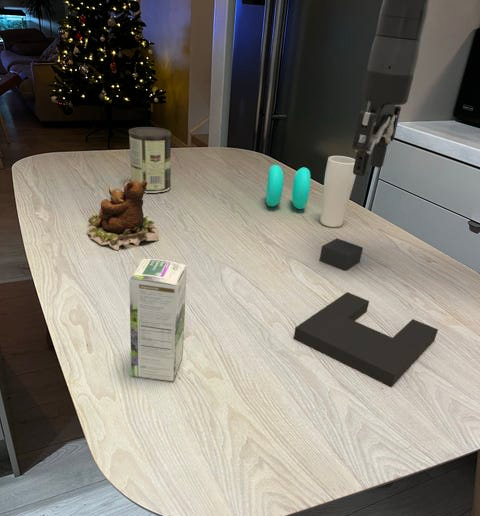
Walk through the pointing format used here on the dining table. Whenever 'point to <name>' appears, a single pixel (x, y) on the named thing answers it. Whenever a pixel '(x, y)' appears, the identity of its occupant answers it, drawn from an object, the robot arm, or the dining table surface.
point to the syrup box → (157, 318)
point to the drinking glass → (337, 189)
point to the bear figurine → (123, 218)
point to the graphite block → (341, 254)
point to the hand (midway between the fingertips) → (367, 170)
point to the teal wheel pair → (298, 191)
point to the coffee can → (151, 157)
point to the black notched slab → (364, 340)
